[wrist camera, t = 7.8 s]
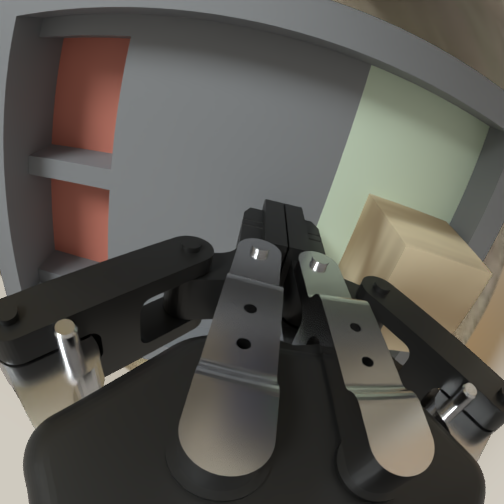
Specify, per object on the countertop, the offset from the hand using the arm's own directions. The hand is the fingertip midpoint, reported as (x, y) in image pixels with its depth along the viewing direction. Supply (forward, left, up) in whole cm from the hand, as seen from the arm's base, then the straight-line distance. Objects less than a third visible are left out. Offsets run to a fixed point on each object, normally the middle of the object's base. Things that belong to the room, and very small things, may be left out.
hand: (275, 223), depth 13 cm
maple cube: (0, +6, -1) cm, 6 cm away
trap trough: (0, -2, -4) cm, 4 cm away
